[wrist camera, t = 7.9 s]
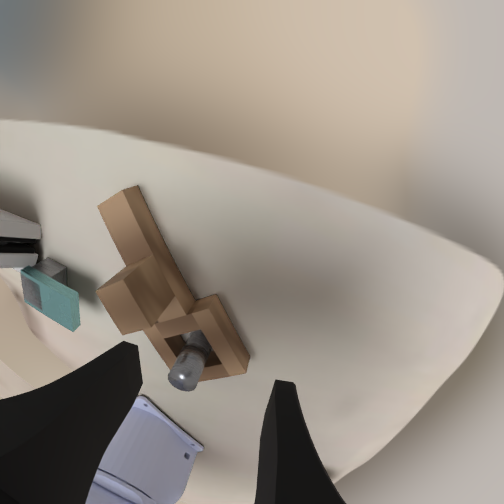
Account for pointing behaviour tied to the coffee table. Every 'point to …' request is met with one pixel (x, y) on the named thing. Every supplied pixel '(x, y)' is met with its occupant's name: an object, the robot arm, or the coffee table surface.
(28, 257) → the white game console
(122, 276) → the link
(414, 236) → the coffee table surface
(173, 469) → the robot arm
